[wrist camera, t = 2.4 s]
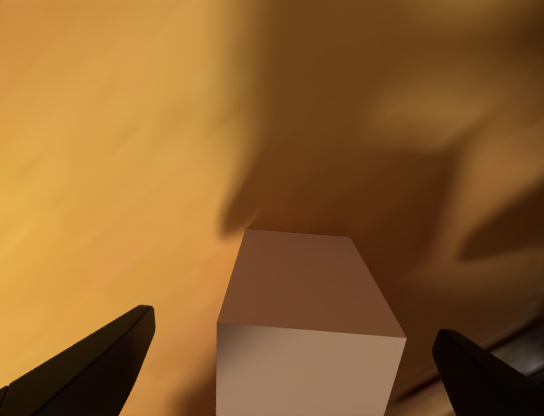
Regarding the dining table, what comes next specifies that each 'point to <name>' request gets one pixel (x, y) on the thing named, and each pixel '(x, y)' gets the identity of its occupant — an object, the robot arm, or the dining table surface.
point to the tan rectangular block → (304, 331)
